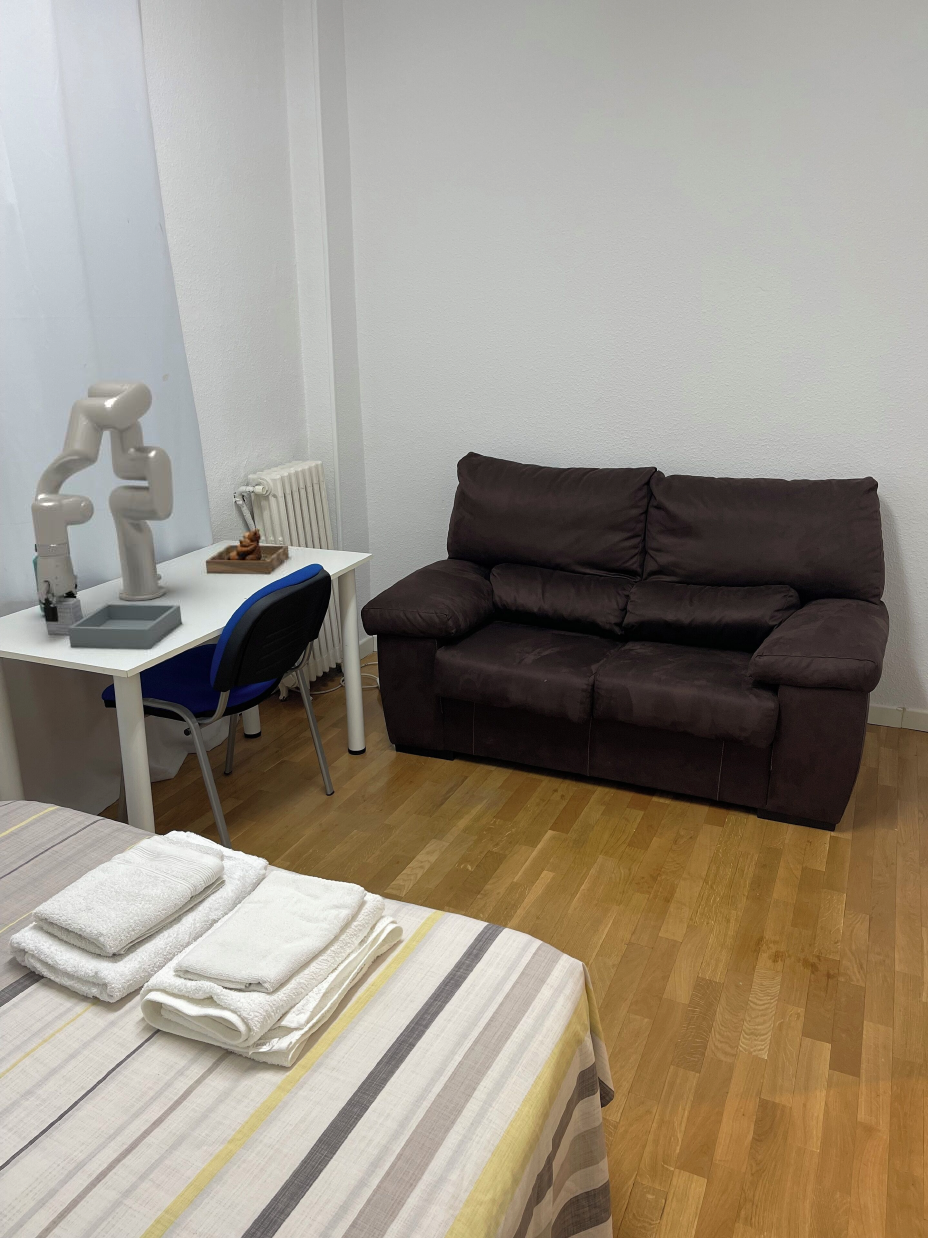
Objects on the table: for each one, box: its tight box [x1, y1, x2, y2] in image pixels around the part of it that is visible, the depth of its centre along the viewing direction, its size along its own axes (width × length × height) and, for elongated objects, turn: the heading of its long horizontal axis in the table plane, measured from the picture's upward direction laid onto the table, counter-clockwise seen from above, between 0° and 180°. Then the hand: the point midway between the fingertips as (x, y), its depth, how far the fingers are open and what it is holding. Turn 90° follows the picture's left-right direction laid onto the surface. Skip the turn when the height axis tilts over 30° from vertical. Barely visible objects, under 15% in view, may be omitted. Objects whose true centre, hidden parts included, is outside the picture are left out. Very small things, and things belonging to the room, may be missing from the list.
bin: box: [68, 603, 183, 650], centre depth 242 cm, size 20×20×5 cm
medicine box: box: [45, 597, 84, 636], centre depth 244 cm, size 8×4×9 cm, turn 80°
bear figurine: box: [226, 528, 270, 561], centre depth 305 cm, size 14×15×12 cm
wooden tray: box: [205, 544, 290, 575], centre depth 308 cm, size 21×20×4 cm
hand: (62, 616), depth 244 cm, fingers open, 9 cm apart
